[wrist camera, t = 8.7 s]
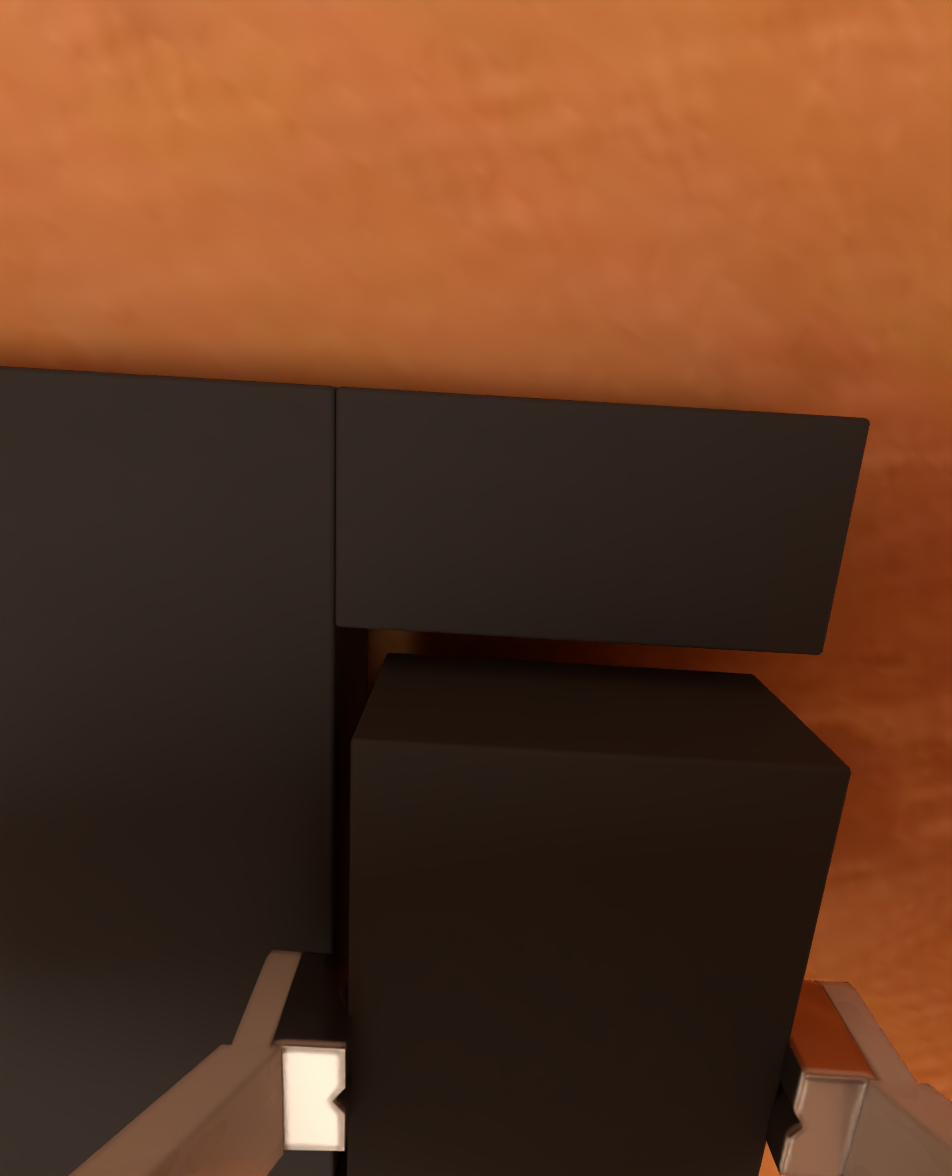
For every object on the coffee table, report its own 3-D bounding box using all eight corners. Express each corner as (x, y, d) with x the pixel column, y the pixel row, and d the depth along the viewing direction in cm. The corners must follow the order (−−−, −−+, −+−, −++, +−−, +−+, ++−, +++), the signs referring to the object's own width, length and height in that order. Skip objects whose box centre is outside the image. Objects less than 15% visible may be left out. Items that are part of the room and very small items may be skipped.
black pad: (386, 651, 11) (350, 739, 8) (753, 672, 11) (855, 769, 8) (375, 1116, 13) (344, 1313, 10) (671, 1132, 13) (724, 1334, 10)
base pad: (-124, 363, 12) (-328, 346, 9) (776, 417, 12) (873, 418, 9) (5, 1127, 16) (-100, 1283, 13) (648, 1163, 16) (684, 1326, 13)
